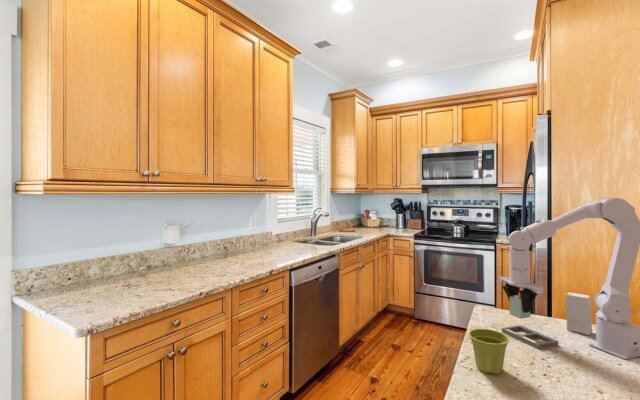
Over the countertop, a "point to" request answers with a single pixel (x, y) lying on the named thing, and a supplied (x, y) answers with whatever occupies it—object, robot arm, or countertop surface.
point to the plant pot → (489, 349)
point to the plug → (517, 307)
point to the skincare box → (578, 313)
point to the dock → (529, 335)
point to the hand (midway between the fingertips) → (520, 309)
